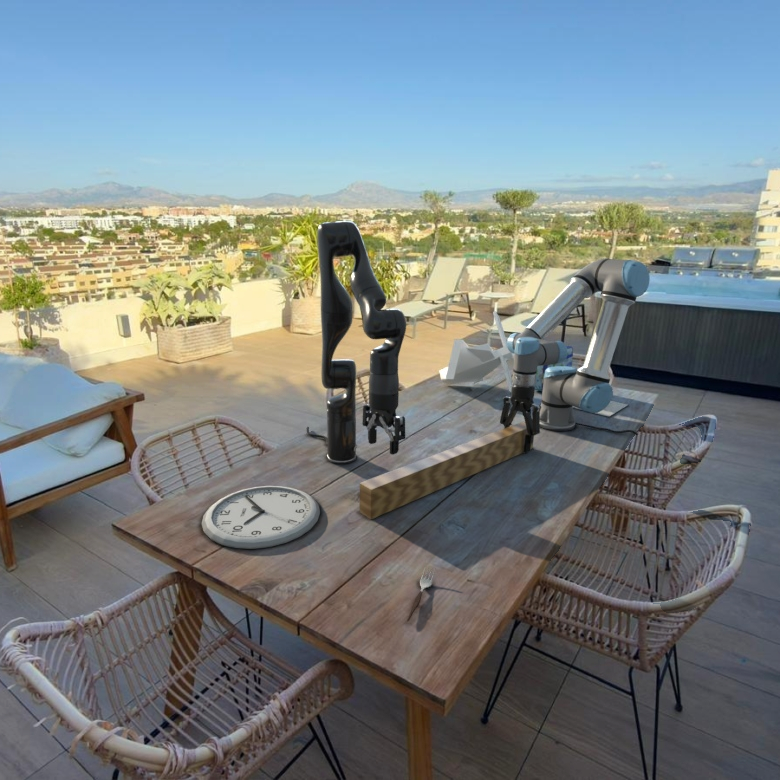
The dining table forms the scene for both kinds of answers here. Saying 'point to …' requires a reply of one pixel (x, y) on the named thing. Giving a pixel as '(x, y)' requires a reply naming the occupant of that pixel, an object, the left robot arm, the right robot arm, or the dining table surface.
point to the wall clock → (260, 517)
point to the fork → (424, 584)
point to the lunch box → (542, 368)
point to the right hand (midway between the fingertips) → (517, 448)
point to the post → (439, 470)
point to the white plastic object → (477, 360)
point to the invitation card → (611, 408)
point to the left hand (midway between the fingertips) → (382, 448)
